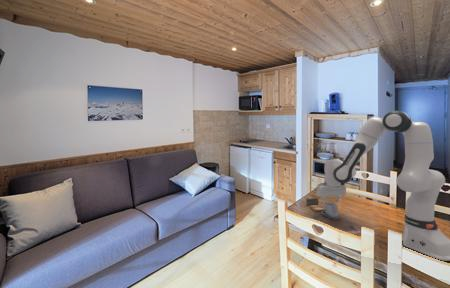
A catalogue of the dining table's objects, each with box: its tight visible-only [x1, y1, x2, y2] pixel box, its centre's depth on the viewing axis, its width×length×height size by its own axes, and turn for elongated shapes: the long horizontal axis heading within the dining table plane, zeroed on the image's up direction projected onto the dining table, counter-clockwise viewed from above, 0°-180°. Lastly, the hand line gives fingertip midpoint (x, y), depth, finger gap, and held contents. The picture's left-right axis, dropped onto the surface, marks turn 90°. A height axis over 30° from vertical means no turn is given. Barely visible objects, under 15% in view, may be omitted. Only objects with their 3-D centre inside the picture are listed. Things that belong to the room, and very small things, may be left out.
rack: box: [305, 197, 325, 213], centre depth 160 cm, size 12×9×6 cm
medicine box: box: [324, 201, 339, 217], centre depth 146 cm, size 8×4×9 cm, turn 4°
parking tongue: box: [319, 211, 342, 221], centre depth 146 cm, size 12×7×2 cm, turn 13°
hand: (330, 202), depth 147 cm, fingers open, 8 cm apart
